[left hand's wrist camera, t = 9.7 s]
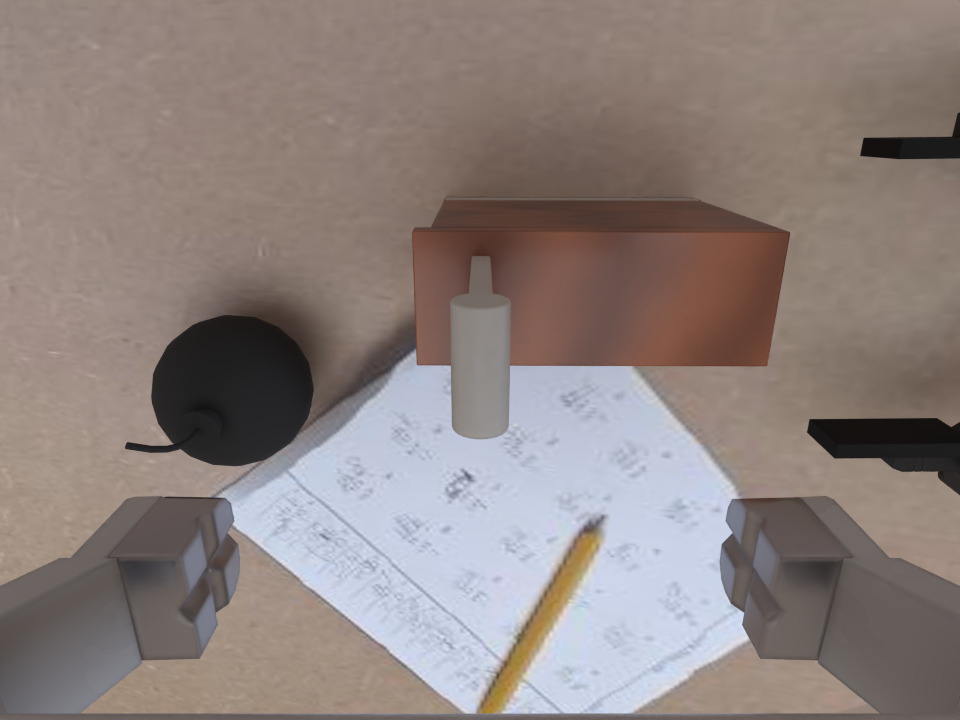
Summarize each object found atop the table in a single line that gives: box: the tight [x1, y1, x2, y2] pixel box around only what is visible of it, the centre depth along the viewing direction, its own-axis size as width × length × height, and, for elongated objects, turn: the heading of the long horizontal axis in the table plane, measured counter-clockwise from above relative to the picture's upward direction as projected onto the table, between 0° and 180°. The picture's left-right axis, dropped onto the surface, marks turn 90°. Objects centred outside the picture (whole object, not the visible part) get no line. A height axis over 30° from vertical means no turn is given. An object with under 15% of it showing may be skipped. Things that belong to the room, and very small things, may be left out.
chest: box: [431, 197, 777, 228], centre depth 30 cm, size 13×5×10 cm, turn 90°
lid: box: [412, 228, 790, 439], centre depth 21 cm, size 14×5×9 cm, turn 90°
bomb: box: [125, 315, 314, 466], centre depth 31 cm, size 8×8×12 cm
